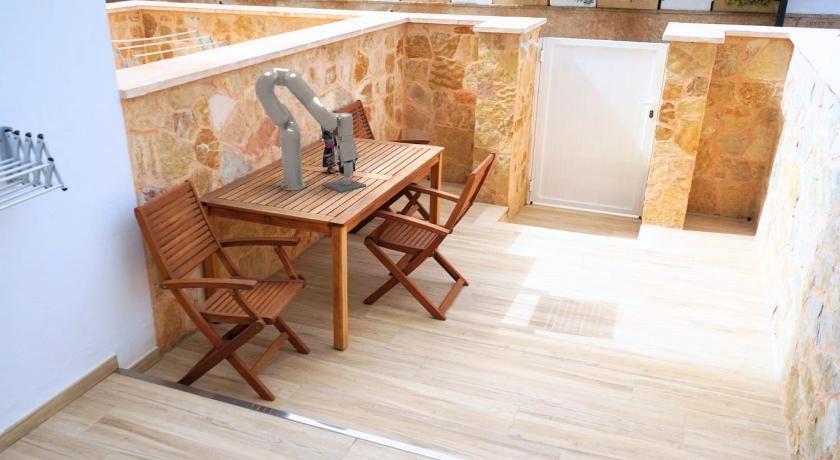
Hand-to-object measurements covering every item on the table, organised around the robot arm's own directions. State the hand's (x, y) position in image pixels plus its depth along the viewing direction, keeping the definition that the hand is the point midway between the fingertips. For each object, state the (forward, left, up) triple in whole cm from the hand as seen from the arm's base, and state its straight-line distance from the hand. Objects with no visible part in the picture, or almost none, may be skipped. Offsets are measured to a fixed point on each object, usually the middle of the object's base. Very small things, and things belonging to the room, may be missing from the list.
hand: (347, 171), depth 345 cm
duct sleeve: (0, 0, -1) cm, 1 cm away
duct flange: (-2, 0, -7) cm, 8 cm away
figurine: (+5, +23, -7) cm, 25 cm away
